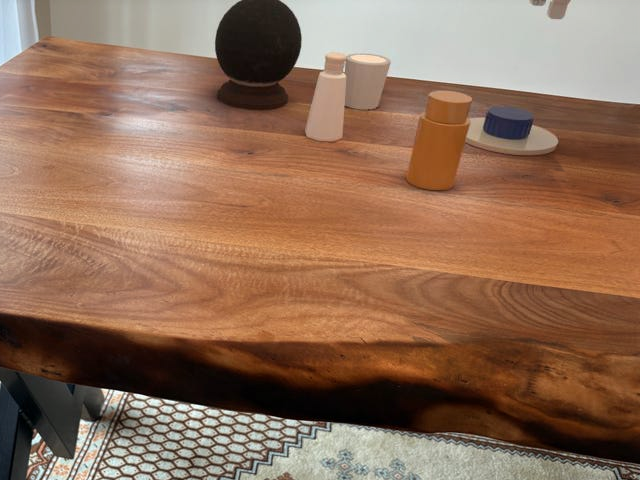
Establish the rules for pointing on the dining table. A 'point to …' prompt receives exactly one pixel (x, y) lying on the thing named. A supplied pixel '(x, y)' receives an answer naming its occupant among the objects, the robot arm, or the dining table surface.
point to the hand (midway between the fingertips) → (545, 11)
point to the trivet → (532, 145)
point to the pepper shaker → (328, 101)
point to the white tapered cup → (365, 80)
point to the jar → (439, 141)
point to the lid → (508, 122)
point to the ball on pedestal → (257, 53)
